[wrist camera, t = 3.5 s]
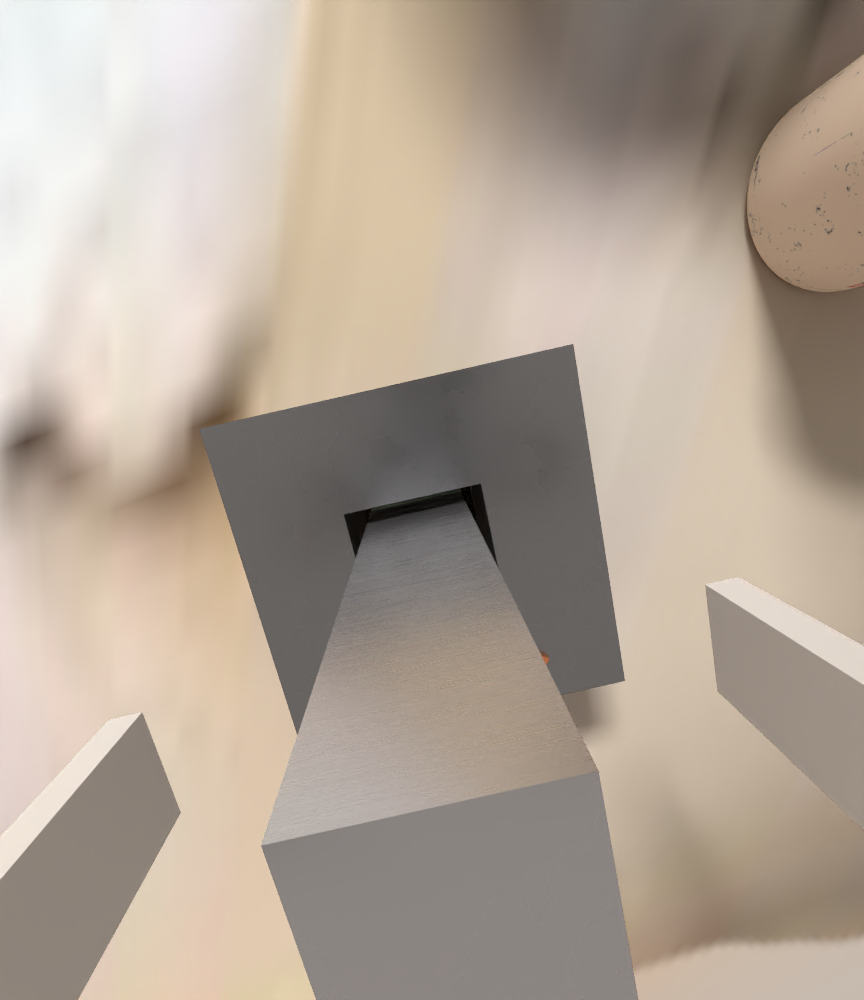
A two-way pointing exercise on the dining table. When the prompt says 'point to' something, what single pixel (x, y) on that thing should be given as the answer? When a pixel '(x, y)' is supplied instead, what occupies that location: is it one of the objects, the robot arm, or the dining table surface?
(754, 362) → the dining table surface
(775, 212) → the teacup with lid
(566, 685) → the sleeve base
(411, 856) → the column
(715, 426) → the dining table surface
